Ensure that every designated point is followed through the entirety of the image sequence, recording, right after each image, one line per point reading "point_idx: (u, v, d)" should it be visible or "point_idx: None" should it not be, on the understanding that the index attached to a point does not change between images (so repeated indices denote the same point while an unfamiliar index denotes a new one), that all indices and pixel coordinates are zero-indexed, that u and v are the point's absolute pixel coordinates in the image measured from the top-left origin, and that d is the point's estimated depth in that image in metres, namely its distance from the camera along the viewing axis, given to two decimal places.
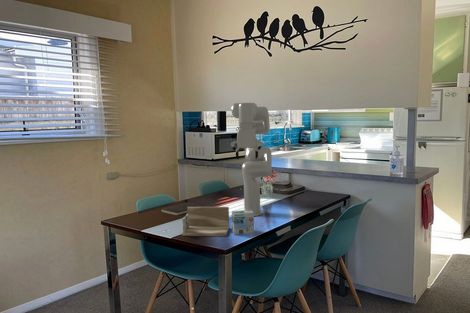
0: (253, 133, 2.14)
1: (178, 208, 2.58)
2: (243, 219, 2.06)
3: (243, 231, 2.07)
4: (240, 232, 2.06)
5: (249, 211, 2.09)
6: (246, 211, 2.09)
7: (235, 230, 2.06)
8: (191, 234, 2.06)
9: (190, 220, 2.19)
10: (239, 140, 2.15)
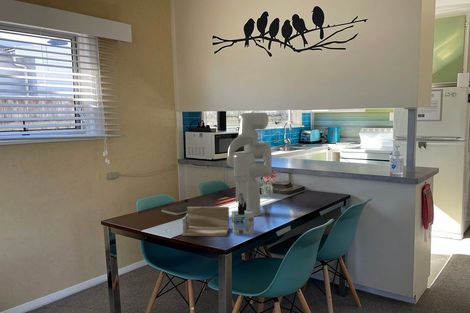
0: None
1: (178, 208, 2.58)
2: (243, 219, 2.06)
3: (243, 231, 2.07)
4: (240, 232, 2.06)
5: (249, 211, 2.09)
6: (246, 211, 2.09)
7: (235, 230, 2.06)
8: (191, 234, 2.06)
9: (190, 220, 2.19)
10: (245, 193, 2.03)
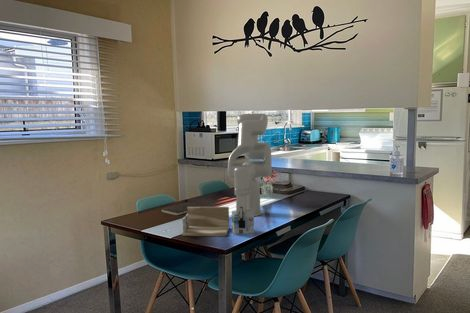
0: None
1: (178, 208, 2.58)
2: None
3: (243, 231, 2.07)
4: (240, 232, 2.06)
5: (249, 211, 2.09)
6: None
7: (235, 230, 2.06)
8: (191, 234, 2.06)
9: (190, 220, 2.19)
10: (246, 207, 2.04)
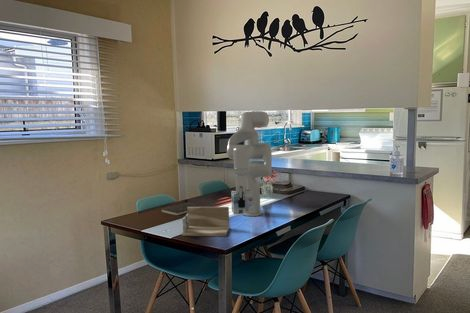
0: None
1: (178, 208, 2.58)
2: None
3: (243, 211, 2.06)
4: (240, 212, 2.06)
5: (249, 191, 2.09)
6: (246, 191, 2.09)
7: (235, 210, 2.05)
8: (191, 234, 2.06)
9: (190, 220, 2.19)
10: (245, 186, 2.04)
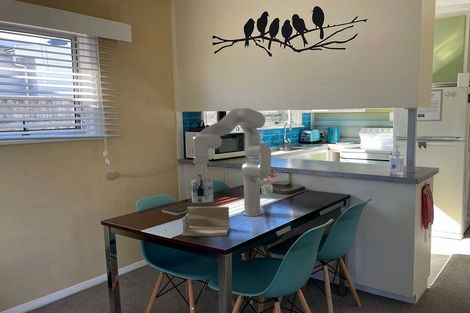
0: None
1: (178, 208, 2.58)
2: None
3: (202, 199, 2.06)
4: (199, 200, 2.06)
5: (208, 180, 2.09)
6: None
7: (194, 198, 2.05)
8: (191, 234, 2.06)
9: (190, 220, 2.19)
10: (204, 175, 2.04)
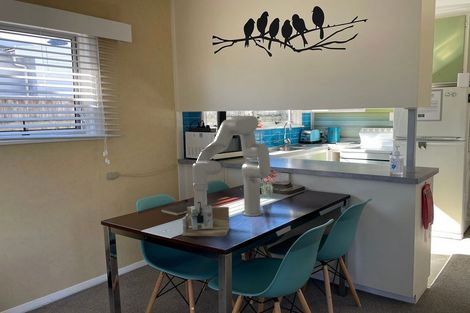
0: None
1: (178, 208, 2.58)
2: None
3: (202, 226, 2.08)
4: (198, 227, 2.08)
5: (208, 206, 2.11)
6: None
7: (193, 225, 2.07)
8: (191, 234, 2.06)
9: (190, 220, 2.19)
10: (204, 202, 2.06)
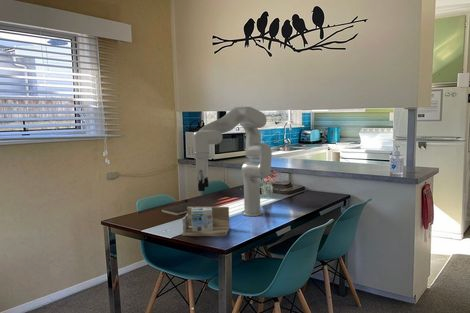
0: None
1: (178, 208, 2.58)
2: (202, 216, 2.08)
3: (202, 228, 2.08)
4: (198, 229, 2.08)
5: (208, 208, 2.11)
6: (205, 208, 2.11)
7: (193, 227, 2.08)
8: (191, 234, 2.06)
9: (190, 220, 2.19)
10: (205, 170, 2.05)
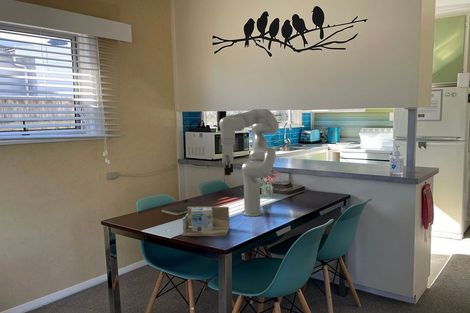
0: None
1: (178, 208, 2.58)
2: (202, 216, 2.08)
3: (202, 228, 2.08)
4: (198, 229, 2.08)
5: (208, 208, 2.11)
6: (205, 208, 2.11)
7: (193, 227, 2.08)
8: (191, 234, 2.06)
9: (190, 220, 2.19)
10: (231, 155, 2.15)
